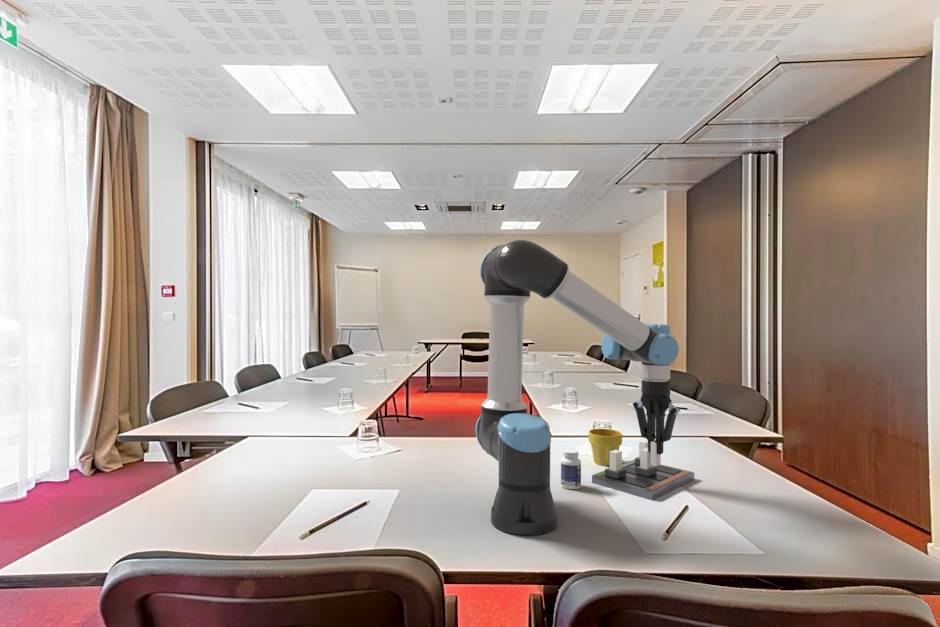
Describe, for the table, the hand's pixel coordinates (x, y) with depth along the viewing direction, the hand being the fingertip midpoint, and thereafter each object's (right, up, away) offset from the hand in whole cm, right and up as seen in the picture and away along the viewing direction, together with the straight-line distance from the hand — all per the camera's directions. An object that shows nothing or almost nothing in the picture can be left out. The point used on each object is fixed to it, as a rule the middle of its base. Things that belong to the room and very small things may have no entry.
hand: (655, 464), depth 141 cm
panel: (-2, -5, +3) cm, 6 cm away
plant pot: (-9, -6, +20) cm, 23 cm away
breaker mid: (-2, -3, +2) cm, 4 cm away
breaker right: (+1, -3, +11) cm, 11 cm away
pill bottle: (-24, -6, -2) cm, 25 cm away
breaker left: (-11, -3, 0) cm, 11 cm away
